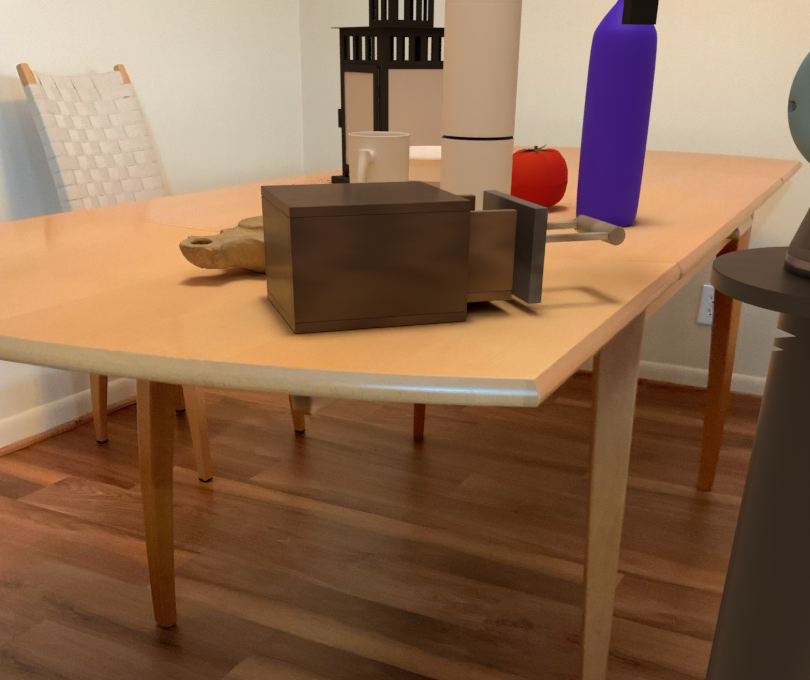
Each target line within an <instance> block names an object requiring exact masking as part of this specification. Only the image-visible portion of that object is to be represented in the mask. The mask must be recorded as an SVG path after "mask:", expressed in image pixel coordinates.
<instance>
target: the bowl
mask: <svg viewBox="0 0 810 680" xmlns="http://www.w3.org/2000/svg"><path fill="white" fill-rule="evenodd" d="M440 178H441V146H410V154H409V181H421V182H424V183H426V184H429V185H432V186H434V187H437V188H439V189H440Z"/></svg>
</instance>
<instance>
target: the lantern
mask: <svg viewBox="0 0 810 680" xmlns="http://www.w3.org/2000/svg"><path fill="white" fill-rule="evenodd" d="M414 1H415V3H414ZM399 3H400V1H399V0H380V4H379V0H368V26H367V25H364V26H339V27H337V26H336V27H332V29H338V33H339V35H338V36H339V39H338V40H339V41H338V42H339V81H340V84H339V85H340V108H338V109H337V127H338V128H339V129H341V131H340V132H341V171H342V172H341V173H342V174H339V175H330V182H331V183H330V184H339V183H350V174H349V141H348V134H349V133H353V132H372V131H380V132H402V133H408V134H410V146H441V141H442V136H444V135H442V102H443V63H444V60H442V47H443V46H442V45H443V44H442V43H443V42H442V40H443V39H442V38H444V27H438V26H437V27H436V26H435V0H403V19H399V8H400V7H399V5H400V4H399ZM414 4H415V6H414ZM379 5H380V6H379ZM379 7H380V9H379ZM414 7H415V8H414ZM414 9H415V12H414ZM379 10H380V17H379ZM414 13H415V16H414ZM414 17H415V19H414ZM379 18H380V19H379ZM434 26H435V27H434ZM351 37H352V59H351ZM363 38H364V59H363ZM406 38H408V46H407V47H408V55H407V56H408V57H407V58H408V59H406ZM429 38H430V60H429ZM395 44H396V45H395Z"/></svg>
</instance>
